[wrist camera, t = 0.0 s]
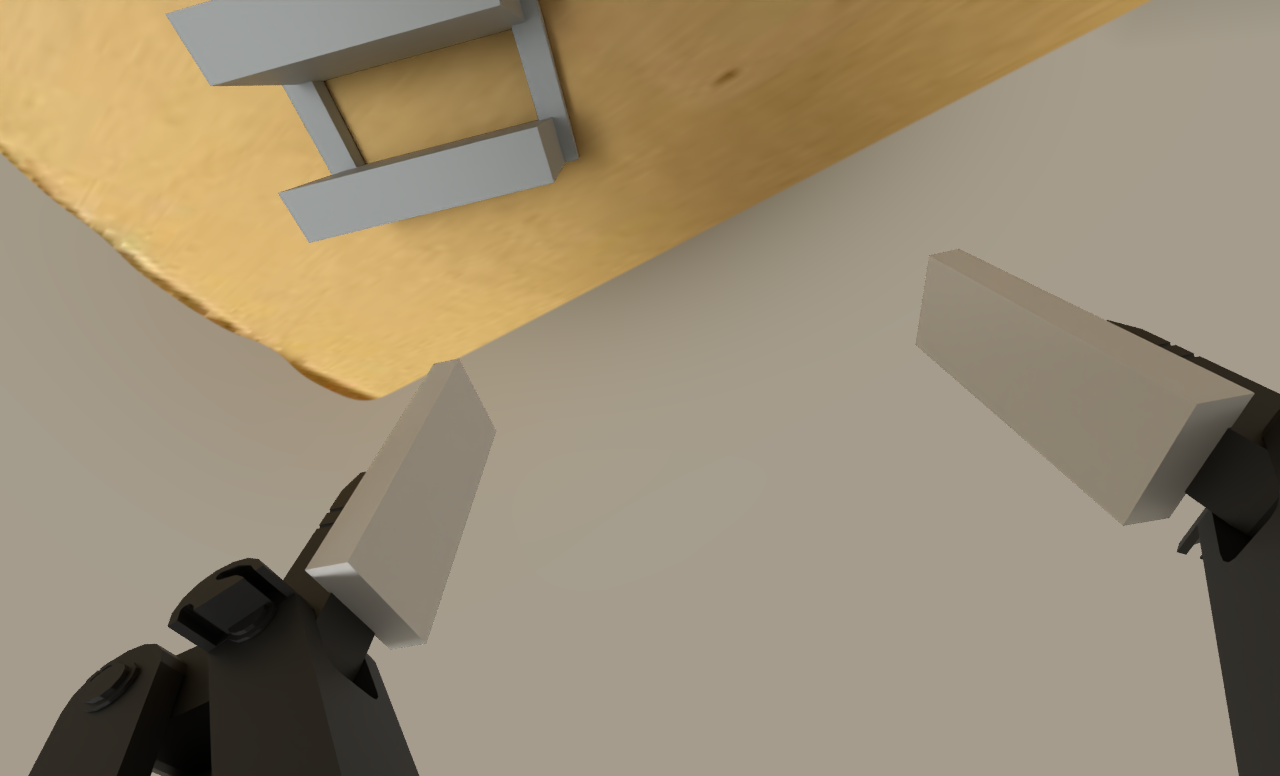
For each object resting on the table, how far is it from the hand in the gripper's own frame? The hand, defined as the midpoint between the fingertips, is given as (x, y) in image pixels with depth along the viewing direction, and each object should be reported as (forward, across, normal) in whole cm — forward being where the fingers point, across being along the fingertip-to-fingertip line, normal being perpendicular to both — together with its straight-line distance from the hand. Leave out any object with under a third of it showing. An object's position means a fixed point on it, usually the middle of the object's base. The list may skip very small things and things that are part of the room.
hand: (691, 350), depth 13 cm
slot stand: (+28, -13, +8) cm, 32 cm away
